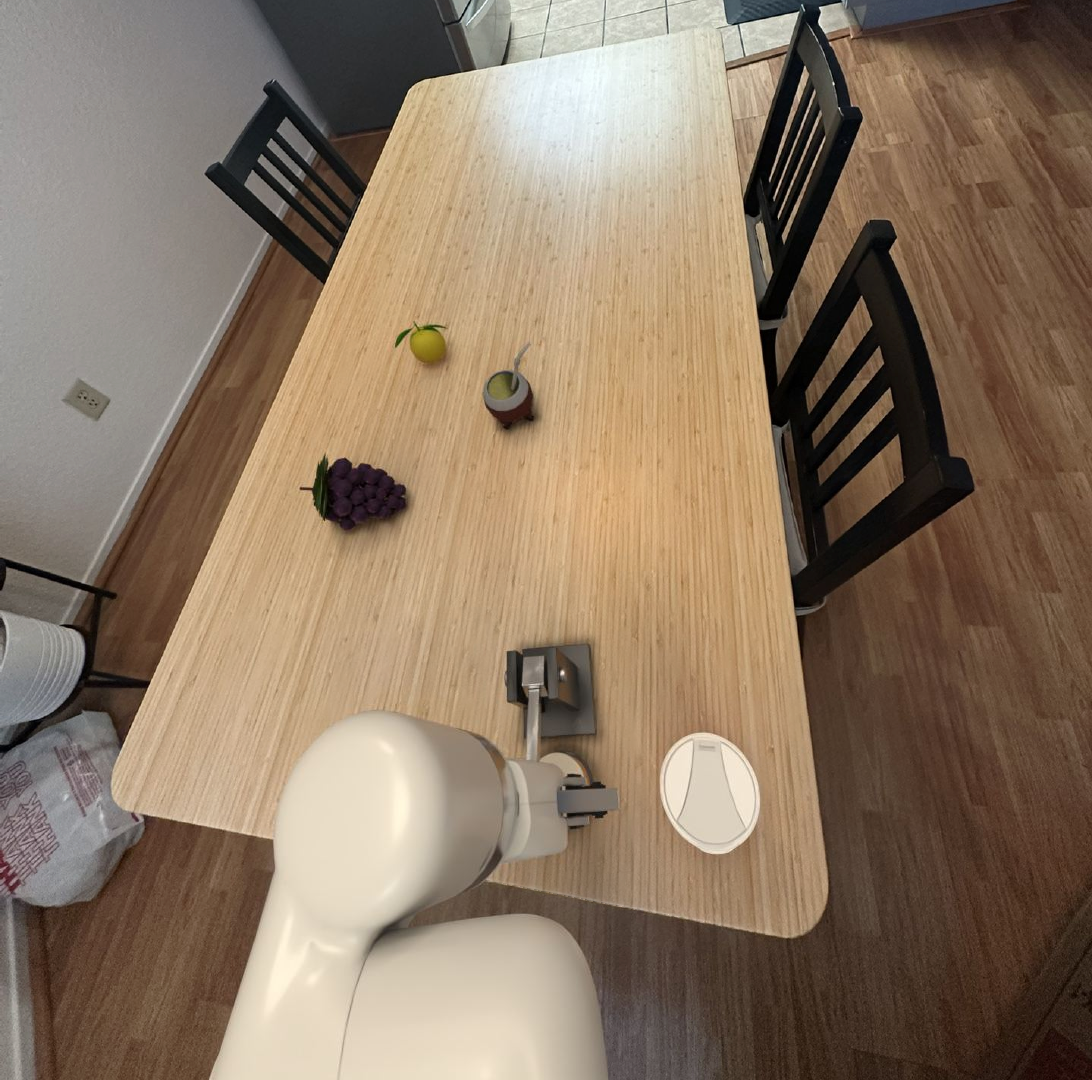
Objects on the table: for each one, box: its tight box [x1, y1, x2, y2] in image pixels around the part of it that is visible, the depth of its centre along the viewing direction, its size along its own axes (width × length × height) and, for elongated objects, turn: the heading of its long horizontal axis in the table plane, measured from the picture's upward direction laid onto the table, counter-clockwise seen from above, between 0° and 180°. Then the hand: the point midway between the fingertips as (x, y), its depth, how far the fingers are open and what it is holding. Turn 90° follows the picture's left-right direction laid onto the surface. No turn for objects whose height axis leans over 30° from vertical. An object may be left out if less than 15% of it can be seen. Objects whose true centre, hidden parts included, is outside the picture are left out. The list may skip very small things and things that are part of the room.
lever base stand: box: [503, 643, 598, 740], centre depth 65 cm, size 9×8×15 cm
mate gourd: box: [482, 341, 535, 431], centre depth 86 cm, size 8×8×15 cm
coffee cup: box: [659, 732, 761, 855], centre depth 57 cm, size 8×8×15 cm
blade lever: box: [522, 656, 548, 762], centre depth 56 cm, size 12×5×2 cm, turn 3°
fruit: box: [299, 452, 407, 532], centre depth 85 cm, size 10×11×15 cm
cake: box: [540, 750, 594, 816], centre depth 64 cm, size 6×6×4 cm
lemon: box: [394, 320, 449, 364], centre depth 97 cm, size 7×6×10 cm
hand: (518, 803), depth 48 cm, fingers open, 9 cm apart
